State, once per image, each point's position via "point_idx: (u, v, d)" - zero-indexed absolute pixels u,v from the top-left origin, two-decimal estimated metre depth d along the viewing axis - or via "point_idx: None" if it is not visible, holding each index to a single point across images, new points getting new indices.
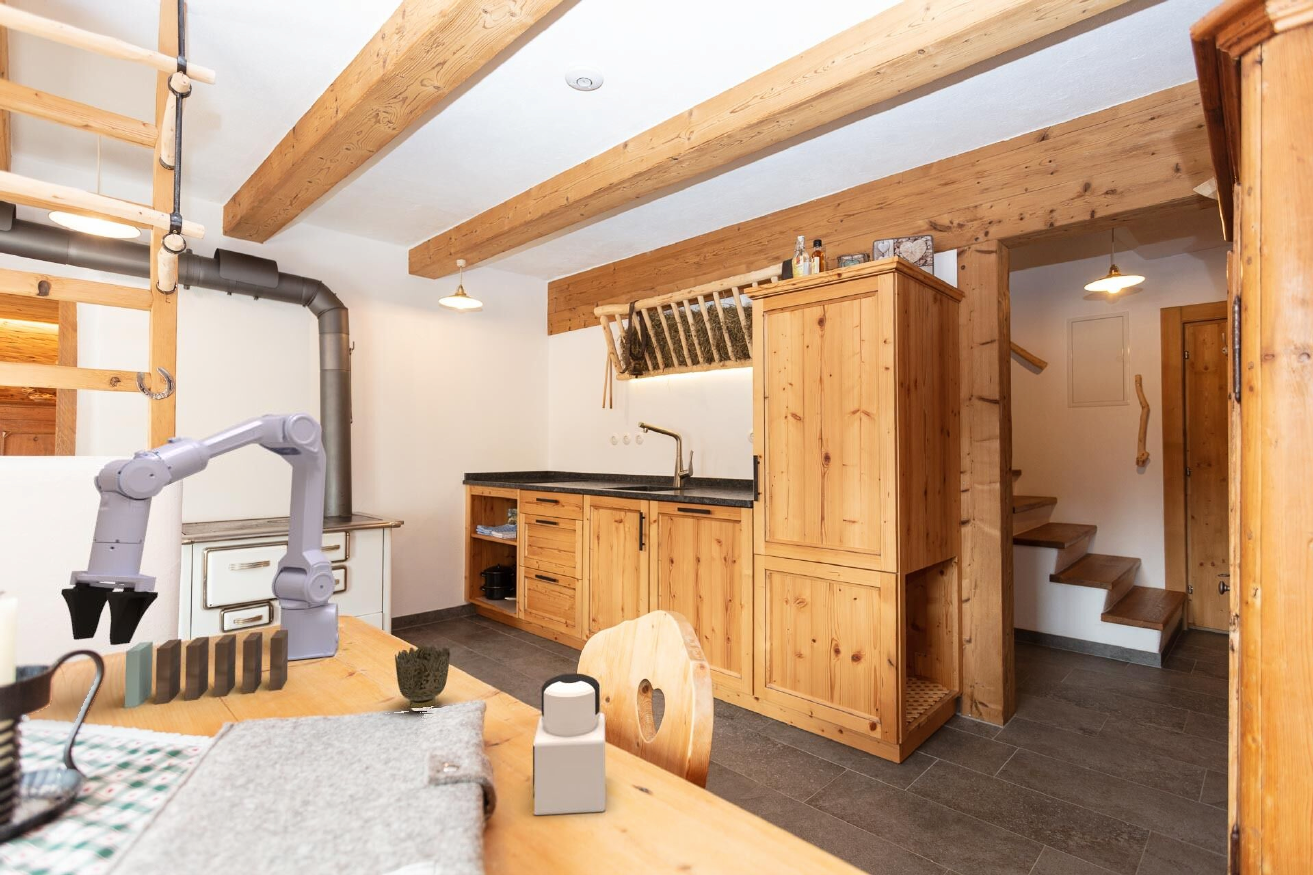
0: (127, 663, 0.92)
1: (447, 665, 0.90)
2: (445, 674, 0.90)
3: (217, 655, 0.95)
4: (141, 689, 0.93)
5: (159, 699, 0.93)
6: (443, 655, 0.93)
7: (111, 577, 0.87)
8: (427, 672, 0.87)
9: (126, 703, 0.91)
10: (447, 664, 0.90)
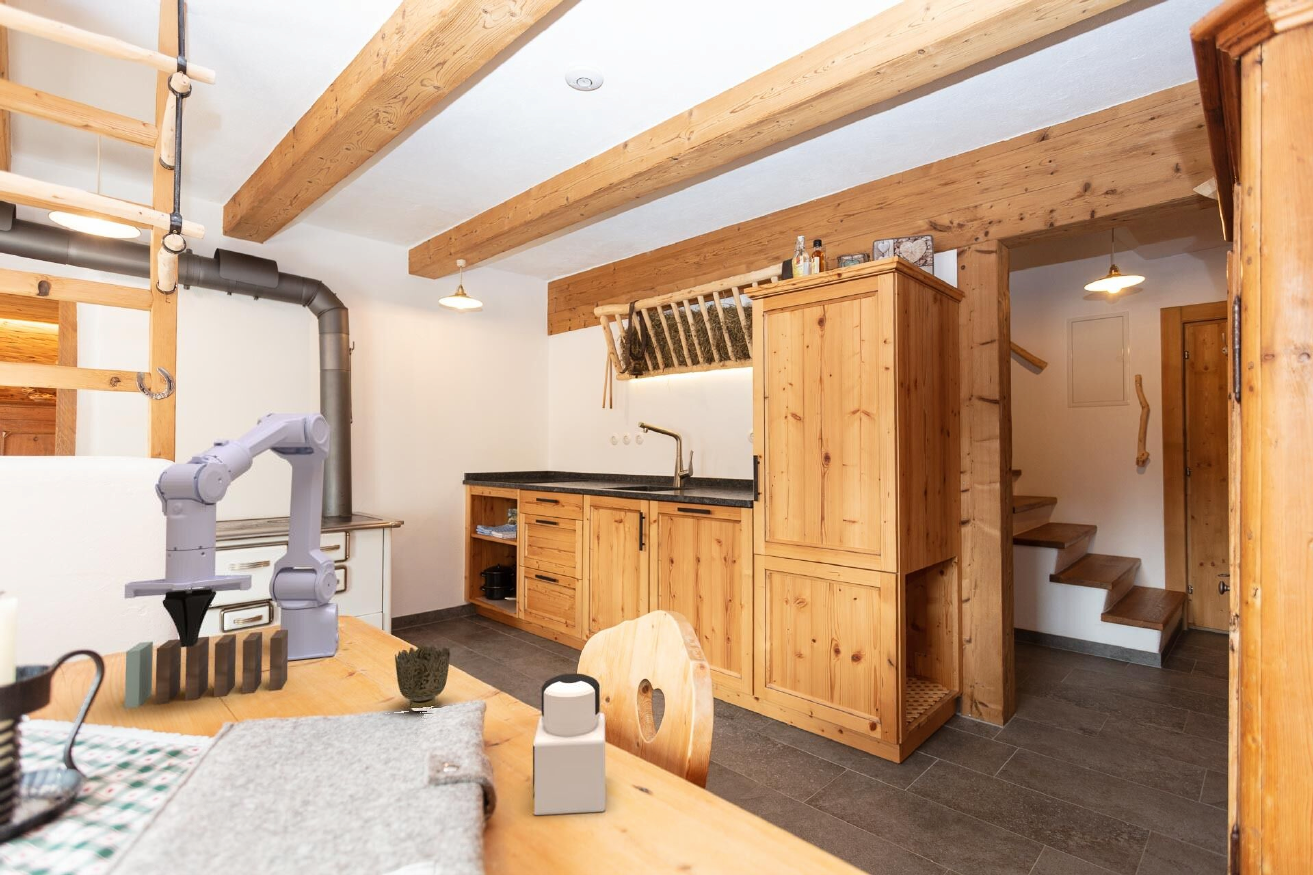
0: (127, 663, 0.92)
1: (447, 665, 0.90)
2: (445, 674, 0.90)
3: (217, 655, 0.95)
4: (141, 689, 0.93)
5: (159, 699, 0.93)
6: (443, 655, 0.93)
7: (212, 582, 0.89)
8: (427, 672, 0.87)
9: (126, 703, 0.91)
10: (447, 664, 0.90)
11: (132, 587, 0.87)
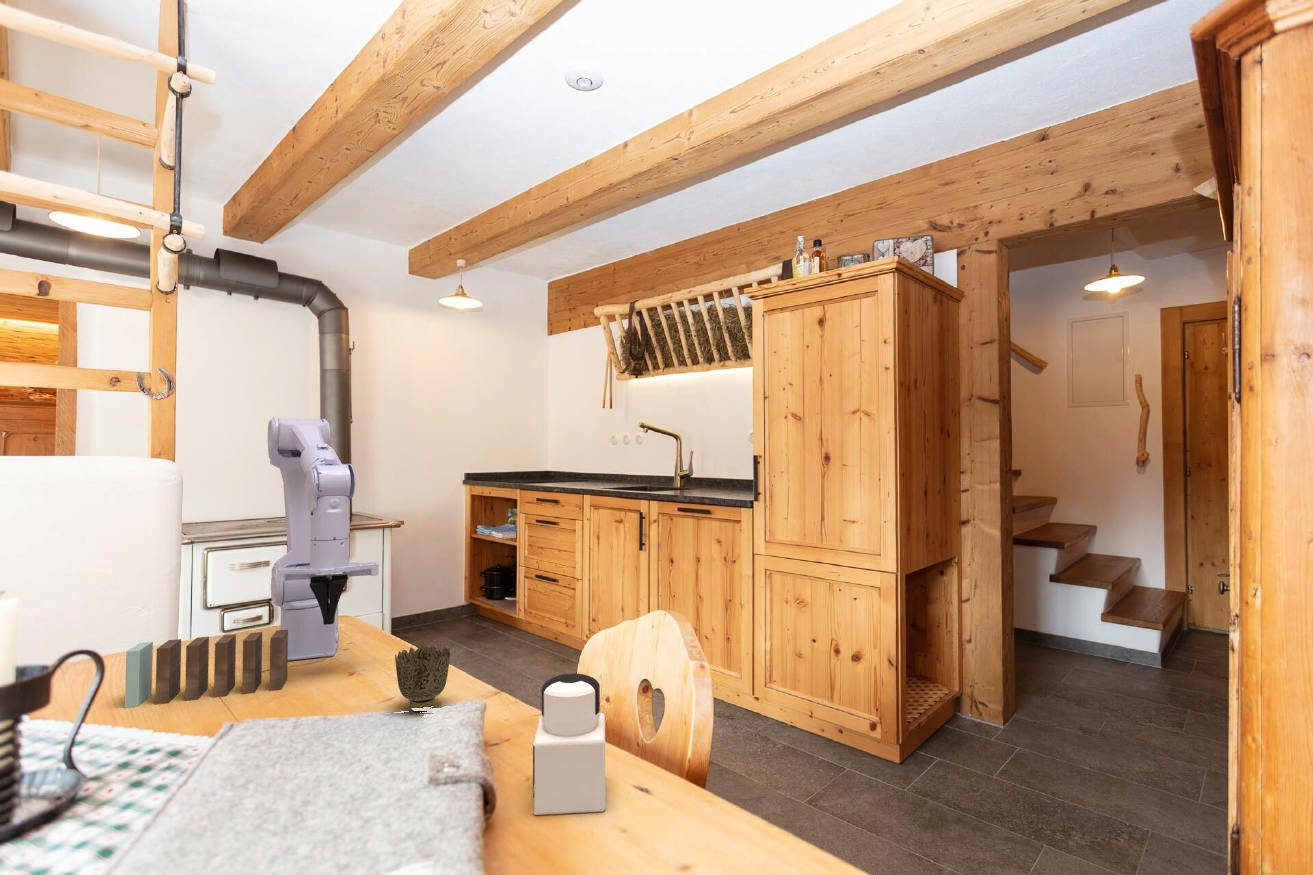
0: (127, 663, 0.92)
1: (447, 665, 0.90)
2: (445, 674, 0.90)
3: (217, 655, 0.95)
4: (141, 689, 0.93)
5: (159, 699, 0.93)
6: (443, 655, 0.93)
7: (350, 568, 1.03)
8: (427, 672, 0.87)
9: (126, 703, 0.91)
10: (447, 664, 0.90)
11: (283, 572, 1.00)
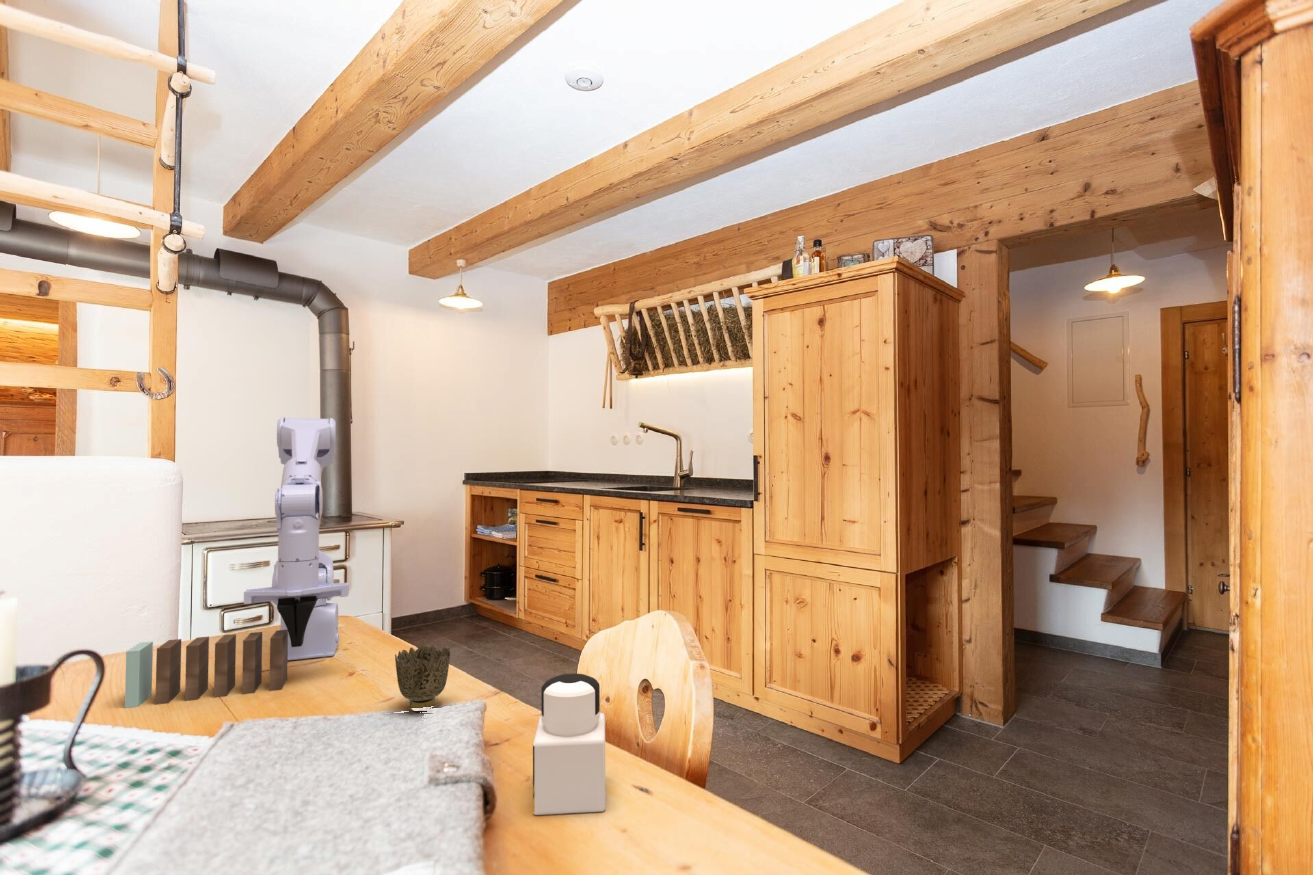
0: (127, 663, 0.92)
1: (447, 665, 0.90)
2: (445, 674, 0.90)
3: (217, 655, 0.96)
4: (141, 689, 0.93)
5: (159, 699, 0.93)
6: (443, 655, 0.93)
7: (318, 589, 1.01)
8: (427, 672, 0.87)
9: (126, 703, 0.91)
10: (447, 664, 0.90)
11: (250, 594, 0.99)
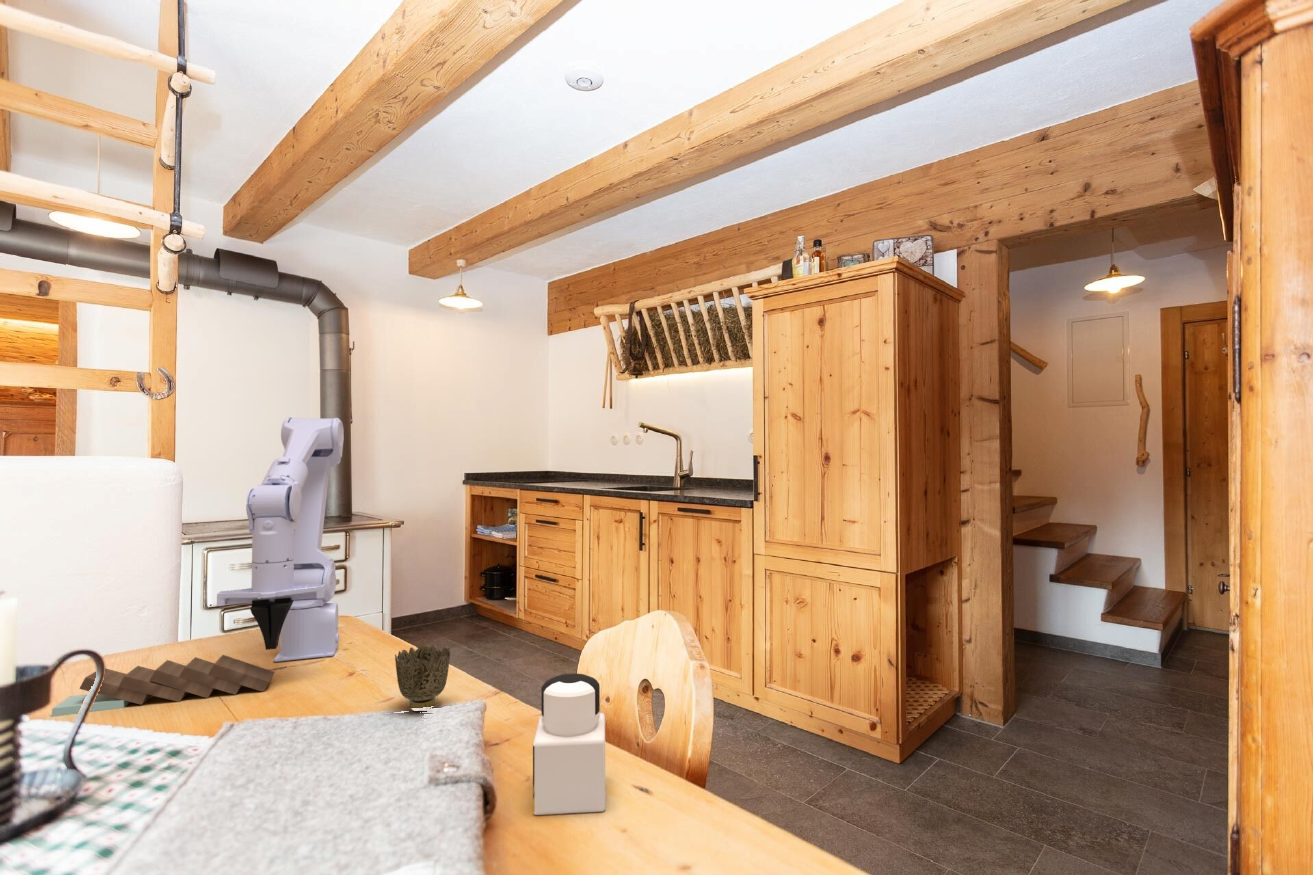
0: None
1: (447, 665, 0.90)
2: (445, 674, 0.90)
3: (164, 682, 0.93)
4: (106, 700, 0.91)
5: (138, 699, 0.92)
6: (443, 655, 0.93)
7: (293, 591, 1.00)
8: (427, 672, 0.87)
9: None
10: (447, 664, 0.90)
11: (223, 596, 0.97)
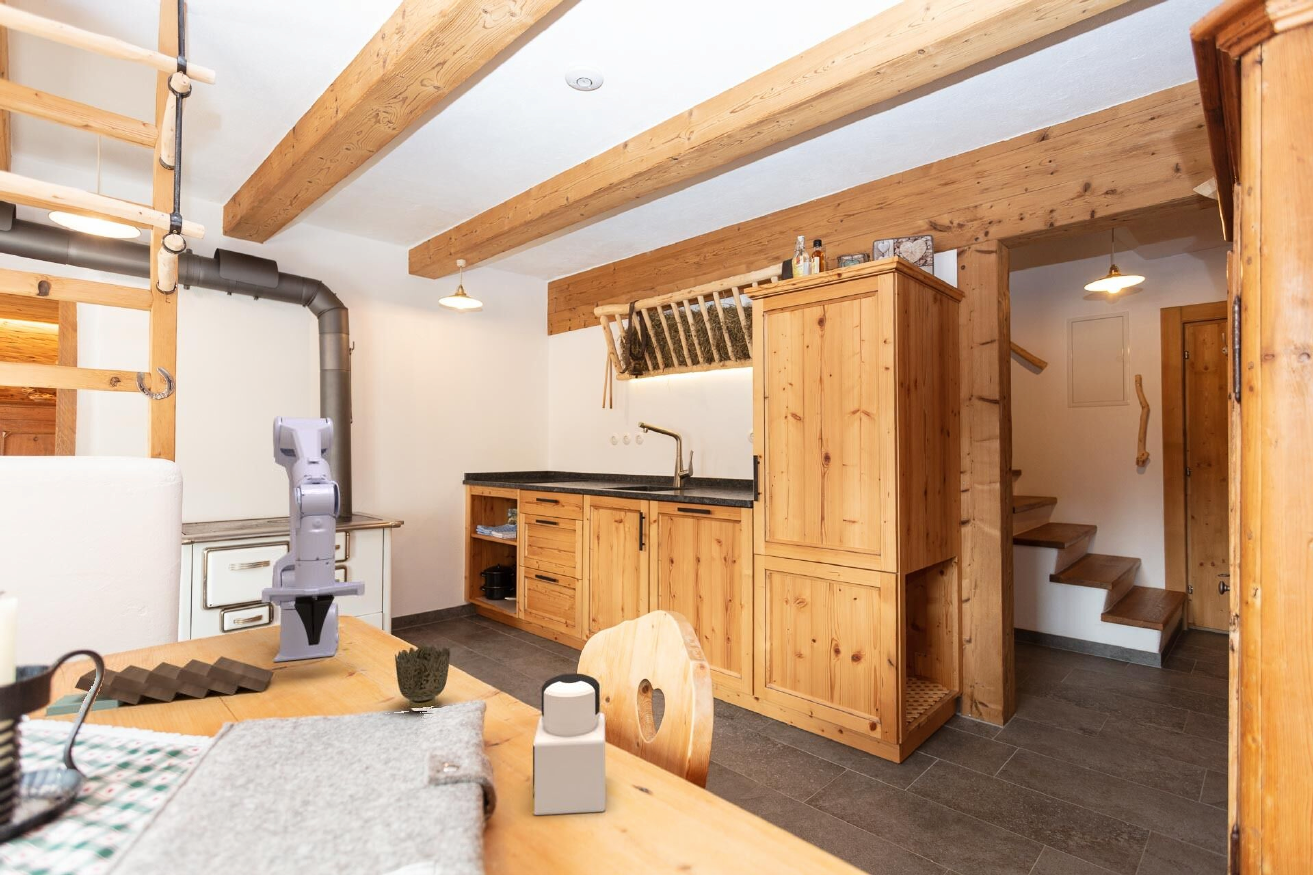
0: None
1: (447, 665, 0.90)
2: (445, 674, 0.90)
3: (158, 684, 0.93)
4: (100, 700, 0.91)
5: (132, 700, 0.92)
6: (443, 655, 0.93)
7: (335, 588, 1.02)
8: (427, 672, 0.87)
9: None
10: (447, 664, 0.90)
11: (268, 593, 0.99)
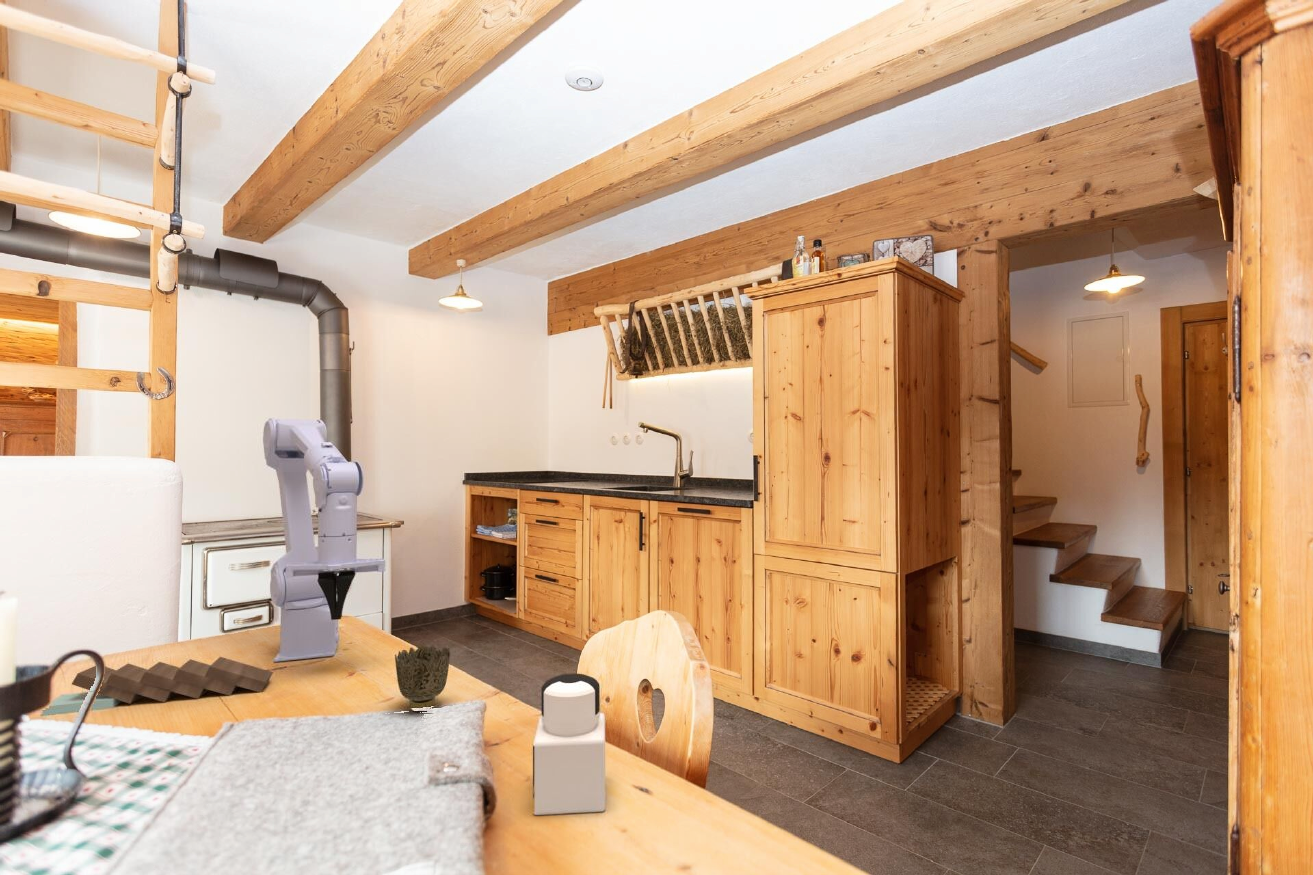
0: None
1: (447, 665, 0.90)
2: (445, 674, 0.90)
3: (154, 683, 0.93)
4: (96, 699, 0.91)
5: (127, 698, 0.92)
6: (443, 655, 0.93)
7: (357, 564, 1.04)
8: (427, 672, 0.87)
9: None
10: (447, 664, 0.90)
11: (292, 568, 1.02)
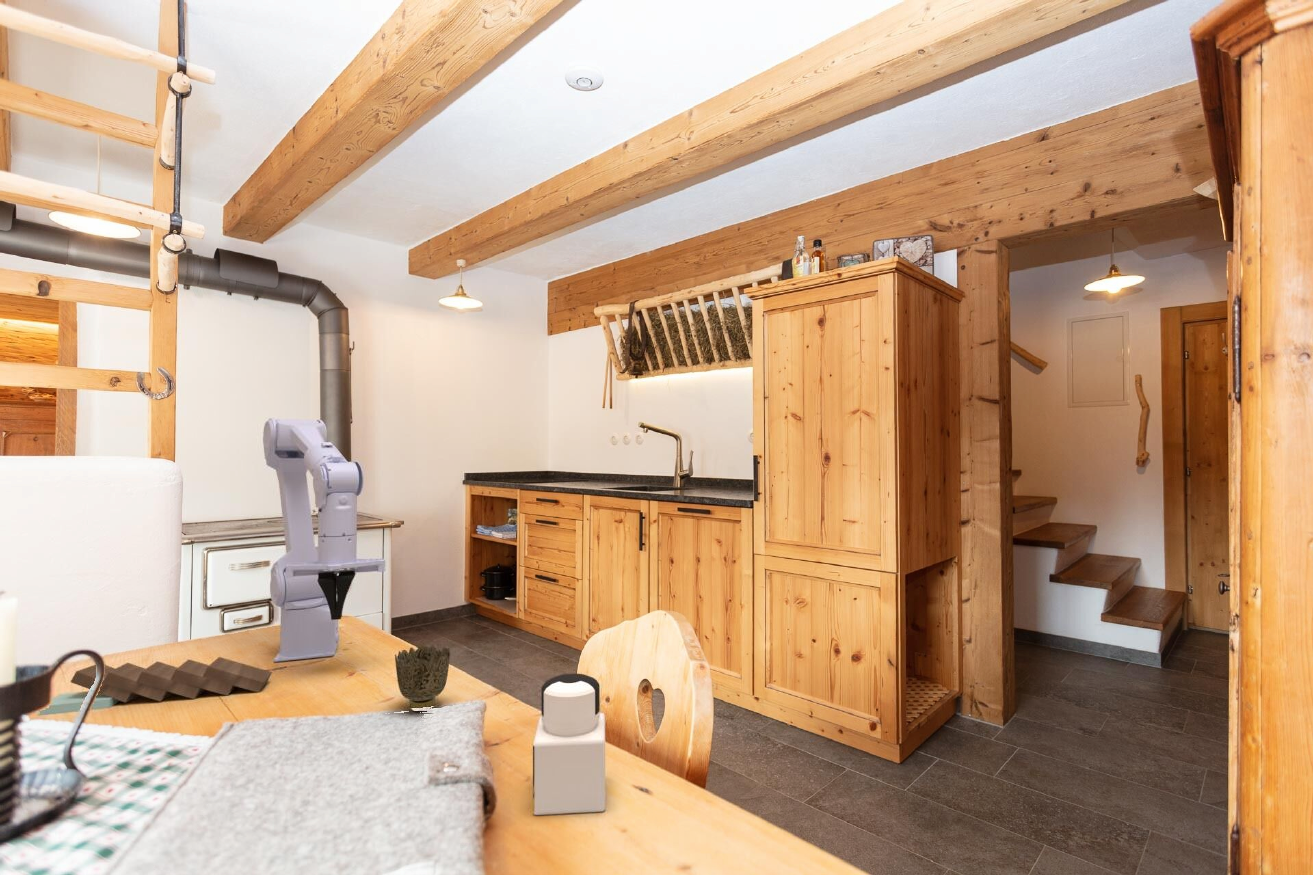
0: None
1: (447, 665, 0.90)
2: (445, 674, 0.90)
3: (150, 683, 0.93)
4: None
5: (122, 697, 0.92)
6: (443, 655, 0.93)
7: (357, 564, 1.04)
8: (427, 672, 0.87)
9: None
10: (447, 664, 0.90)
11: (292, 568, 1.02)
